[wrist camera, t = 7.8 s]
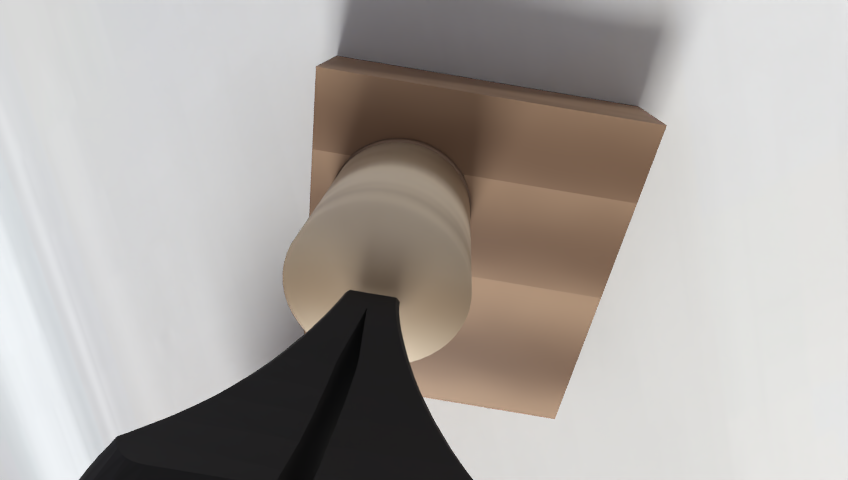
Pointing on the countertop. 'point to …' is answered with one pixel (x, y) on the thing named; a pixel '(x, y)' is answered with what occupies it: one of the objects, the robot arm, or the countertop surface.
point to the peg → (389, 242)
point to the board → (504, 212)
